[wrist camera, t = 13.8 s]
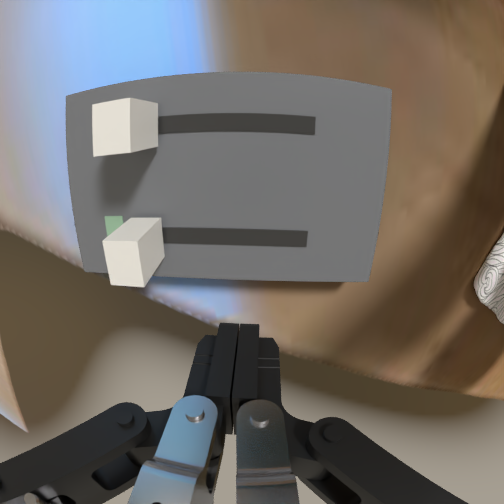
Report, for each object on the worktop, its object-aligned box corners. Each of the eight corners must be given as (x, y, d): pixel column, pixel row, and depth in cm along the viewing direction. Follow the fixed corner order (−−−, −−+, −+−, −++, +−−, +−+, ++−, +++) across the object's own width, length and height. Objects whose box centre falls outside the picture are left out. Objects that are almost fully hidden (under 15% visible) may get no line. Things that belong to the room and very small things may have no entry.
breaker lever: (158, 103, 16) (130, 97, 12) (158, 146, 18) (130, 152, 13) (125, 107, 16) (92, 104, 12) (126, 149, 18) (93, 156, 13)
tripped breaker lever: (161, 217, 20) (137, 241, 15) (164, 256, 21) (144, 287, 17) (130, 217, 20) (102, 240, 15) (135, 255, 21) (111, 284, 17)
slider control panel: (375, 93, 19) (392, 88, 16) (357, 265, 25) (368, 282, 22) (85, 97, 19) (65, 95, 16) (99, 257, 25) (84, 272, 22)
